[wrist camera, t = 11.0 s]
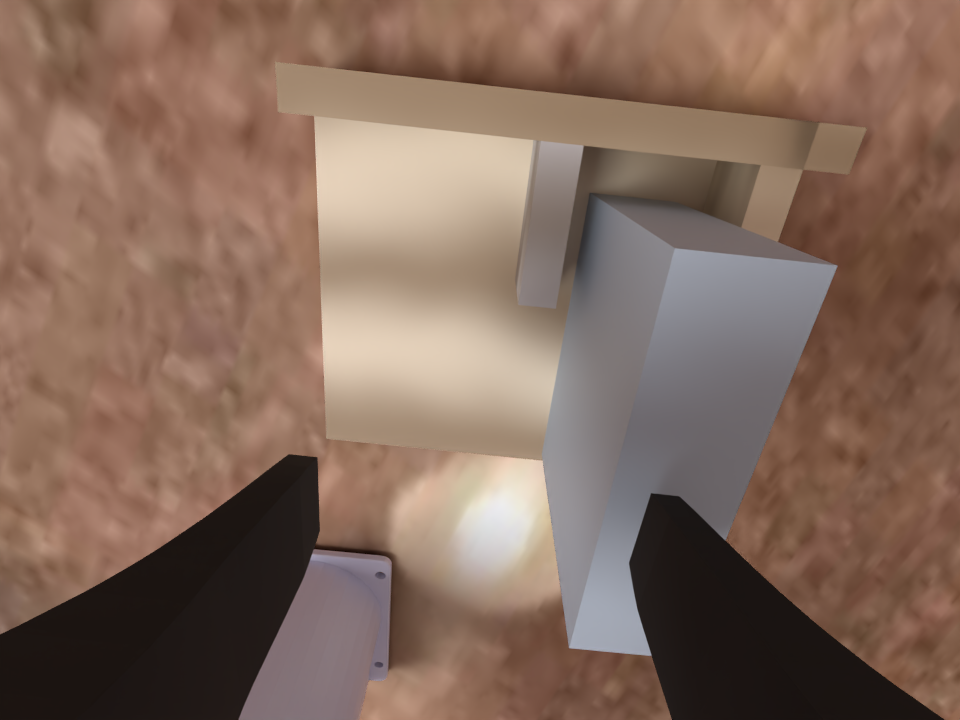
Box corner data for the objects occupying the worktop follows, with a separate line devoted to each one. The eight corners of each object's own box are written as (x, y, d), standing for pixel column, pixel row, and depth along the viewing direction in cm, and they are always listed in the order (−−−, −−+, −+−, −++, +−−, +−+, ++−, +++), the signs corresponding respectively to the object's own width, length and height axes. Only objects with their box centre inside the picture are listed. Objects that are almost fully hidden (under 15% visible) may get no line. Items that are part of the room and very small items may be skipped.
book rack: (682, 466, 23) (713, 523, 19) (330, 431, 22) (302, 482, 19) (794, 128, 17) (867, 127, 13) (318, 75, 16) (274, 61, 13)
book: (609, 460, 22) (677, 658, 14) (541, 454, 22) (569, 648, 14) (675, 202, 17) (837, 265, 9) (589, 192, 17) (675, 248, 9)
